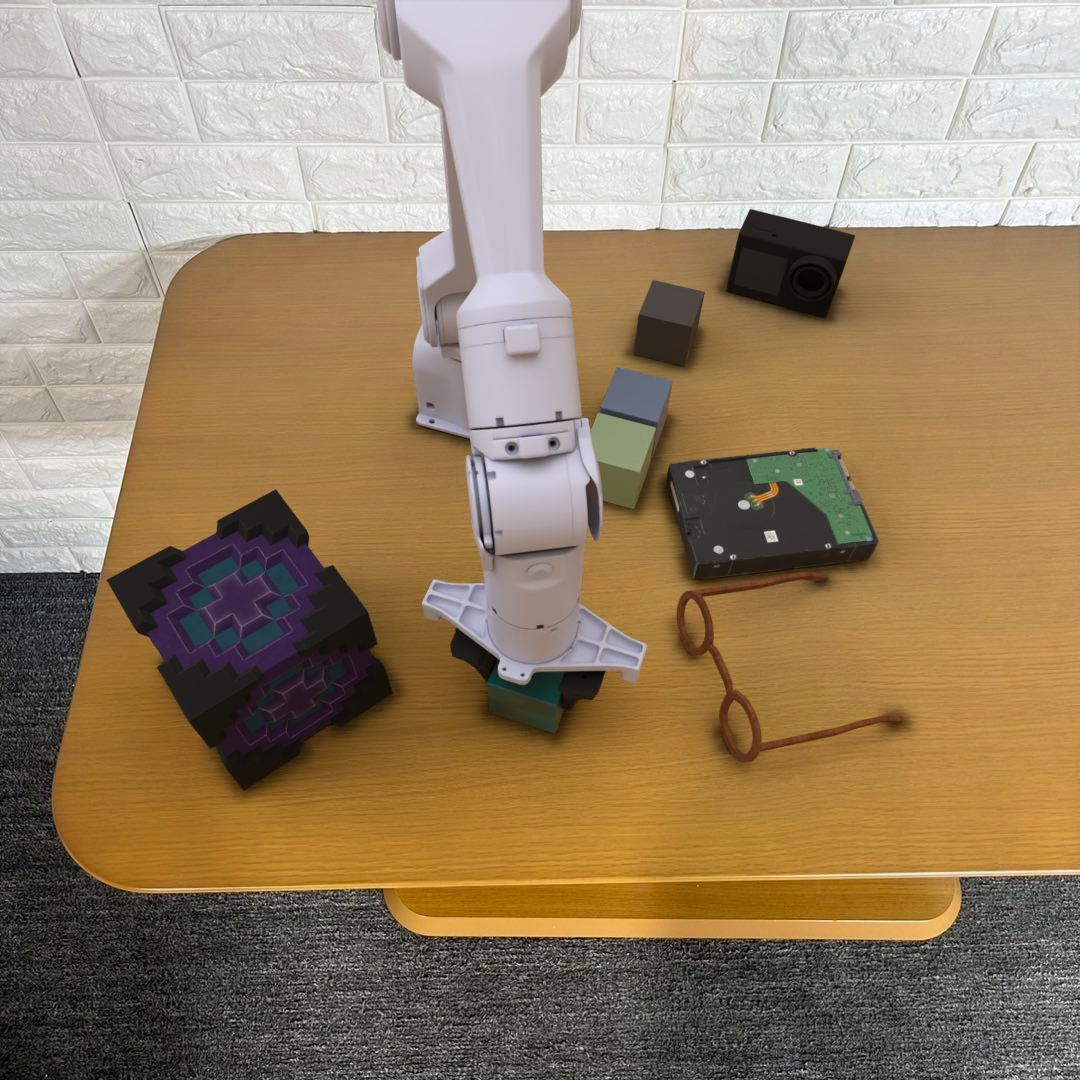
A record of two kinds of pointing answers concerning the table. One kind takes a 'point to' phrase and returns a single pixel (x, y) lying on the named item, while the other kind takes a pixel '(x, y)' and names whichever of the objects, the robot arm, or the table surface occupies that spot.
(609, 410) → the slate block
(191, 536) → the table surface
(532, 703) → the teal block
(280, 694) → the energy cube
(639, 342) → the charcoal block
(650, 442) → the sage block
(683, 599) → the glasses
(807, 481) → the disk drive
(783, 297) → the digital camera
